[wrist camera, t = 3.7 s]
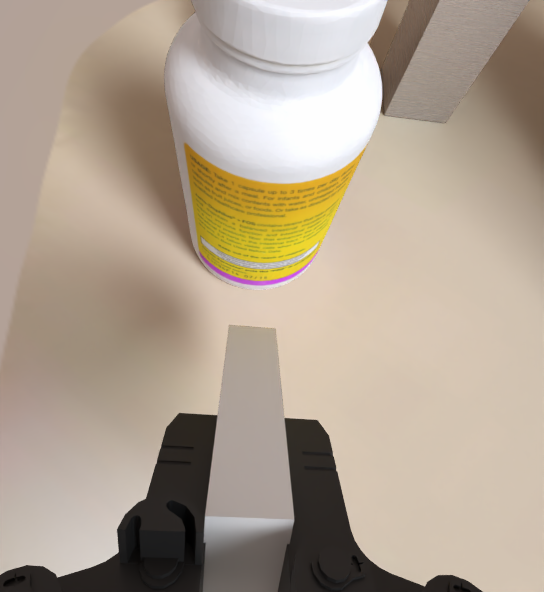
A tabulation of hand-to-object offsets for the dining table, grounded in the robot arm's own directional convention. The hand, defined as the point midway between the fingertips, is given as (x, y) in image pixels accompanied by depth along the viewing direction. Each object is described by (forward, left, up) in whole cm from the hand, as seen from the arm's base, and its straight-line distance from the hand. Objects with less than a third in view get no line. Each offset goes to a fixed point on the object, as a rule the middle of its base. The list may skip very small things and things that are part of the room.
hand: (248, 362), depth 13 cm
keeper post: (-10, -19, -5) cm, 22 cm away
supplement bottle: (0, -8, -5) cm, 9 cm away
